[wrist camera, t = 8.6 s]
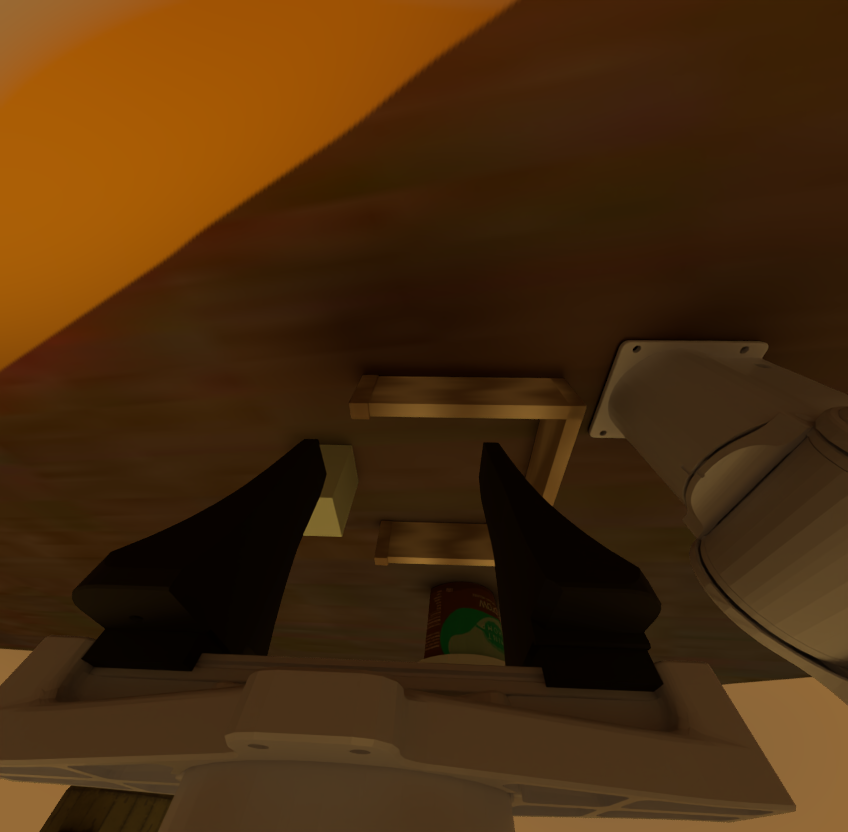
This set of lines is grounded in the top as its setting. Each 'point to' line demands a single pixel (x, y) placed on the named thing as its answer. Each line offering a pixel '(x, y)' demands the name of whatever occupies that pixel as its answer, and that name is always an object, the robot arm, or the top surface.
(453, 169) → the top surface
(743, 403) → the robot arm
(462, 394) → the open crate
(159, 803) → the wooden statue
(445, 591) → the food container
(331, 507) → the sage block
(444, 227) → the top surface
